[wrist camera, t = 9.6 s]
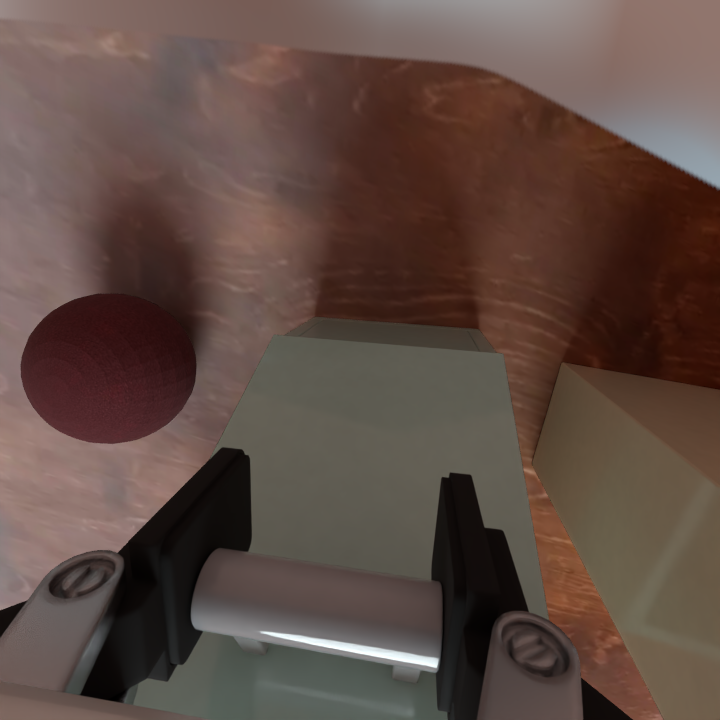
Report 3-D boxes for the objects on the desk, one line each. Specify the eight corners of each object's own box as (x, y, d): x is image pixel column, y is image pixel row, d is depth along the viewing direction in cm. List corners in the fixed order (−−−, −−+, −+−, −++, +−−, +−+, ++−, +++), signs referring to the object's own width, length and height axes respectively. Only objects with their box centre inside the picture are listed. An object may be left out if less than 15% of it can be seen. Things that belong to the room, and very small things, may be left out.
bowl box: (455, 513, 32) (466, 593, 25) (310, 494, 34) (277, 564, 26) (479, 329, 28) (500, 356, 21) (313, 316, 30) (277, 338, 22)
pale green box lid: (573, 827, 9) (687, 821, 6) (89, 721, 11) (-36, 670, 7) (500, 365, 21) (524, 276, 17) (275, 345, 22) (259, 261, 19)
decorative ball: (89, 372, 34) (-42, 419, 24) (125, 263, 31) (-7, 267, 21) (194, 431, 34) (105, 502, 24) (241, 327, 31) (160, 361, 21)
